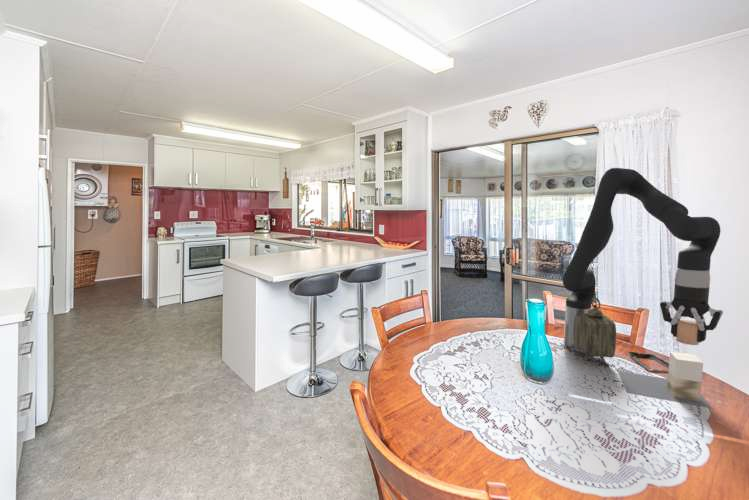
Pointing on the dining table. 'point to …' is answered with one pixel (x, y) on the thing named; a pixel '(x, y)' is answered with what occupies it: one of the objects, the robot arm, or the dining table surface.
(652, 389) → the slate mat
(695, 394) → the tower base
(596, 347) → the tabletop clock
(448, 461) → the dining table surface
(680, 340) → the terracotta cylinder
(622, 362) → the dining table surface
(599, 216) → the robot arm
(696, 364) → the tower top
